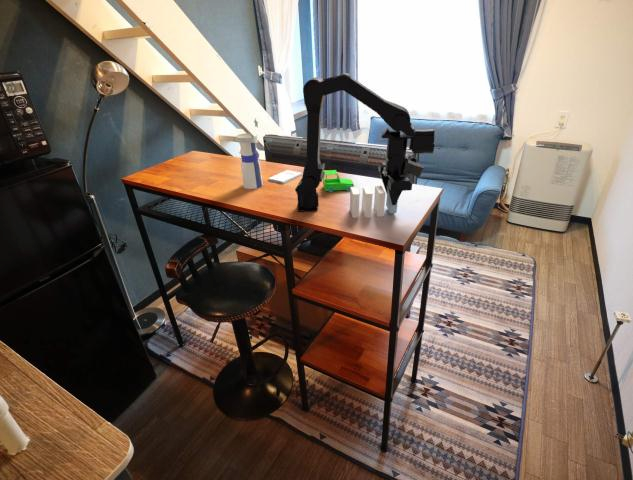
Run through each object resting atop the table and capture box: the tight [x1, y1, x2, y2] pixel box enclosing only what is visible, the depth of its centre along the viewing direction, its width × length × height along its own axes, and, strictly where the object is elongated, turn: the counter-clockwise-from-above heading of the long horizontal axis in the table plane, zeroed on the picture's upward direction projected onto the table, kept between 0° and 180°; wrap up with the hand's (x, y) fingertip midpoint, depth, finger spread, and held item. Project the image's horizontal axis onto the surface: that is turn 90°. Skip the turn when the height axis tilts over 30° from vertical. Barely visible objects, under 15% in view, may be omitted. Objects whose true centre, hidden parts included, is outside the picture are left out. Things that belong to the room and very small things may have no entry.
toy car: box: [322, 169, 355, 193], centre depth 129 cm, size 11×7×7 cm, turn 97°
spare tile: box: [385, 189, 399, 214], centre depth 109 cm, size 2×6×8 cm, turn 2°
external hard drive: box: [267, 169, 303, 185], centre depth 142 cm, size 2×8×12 cm
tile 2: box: [361, 185, 374, 218], centre depth 110 cm, size 2×6×8 cm, turn 3°
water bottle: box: [234, 117, 264, 190], centre depth 129 cm, size 8×8×25 cm
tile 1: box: [349, 186, 360, 219], centre depth 109 cm, size 2×6×8 cm, turn 2°
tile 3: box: [373, 185, 386, 218], centre depth 110 cm, size 2×6×8 cm, turn 3°
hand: (391, 201), depth 110 cm, fingers closed on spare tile, 6 cm apart
